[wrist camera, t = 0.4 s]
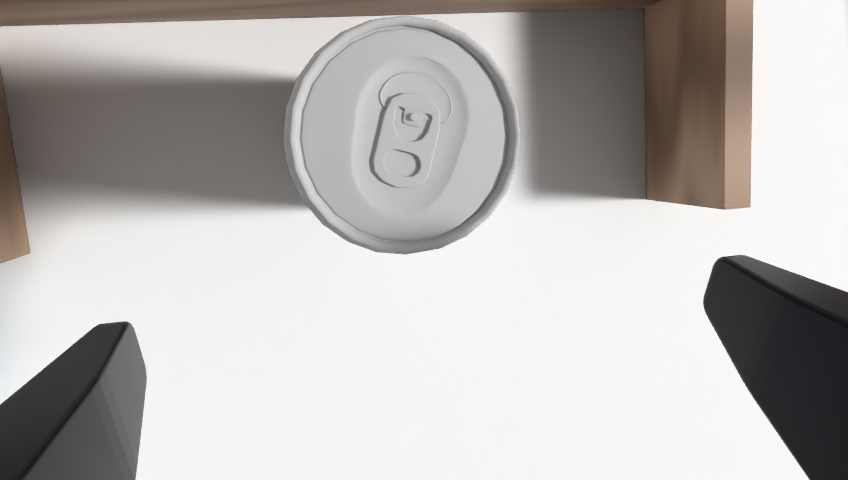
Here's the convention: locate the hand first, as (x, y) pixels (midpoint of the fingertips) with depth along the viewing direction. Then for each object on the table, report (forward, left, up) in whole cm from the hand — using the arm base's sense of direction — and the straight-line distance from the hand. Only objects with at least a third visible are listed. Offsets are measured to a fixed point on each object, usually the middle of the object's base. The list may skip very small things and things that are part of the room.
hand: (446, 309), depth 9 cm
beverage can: (+2, +2, -15) cm, 15 cm away
